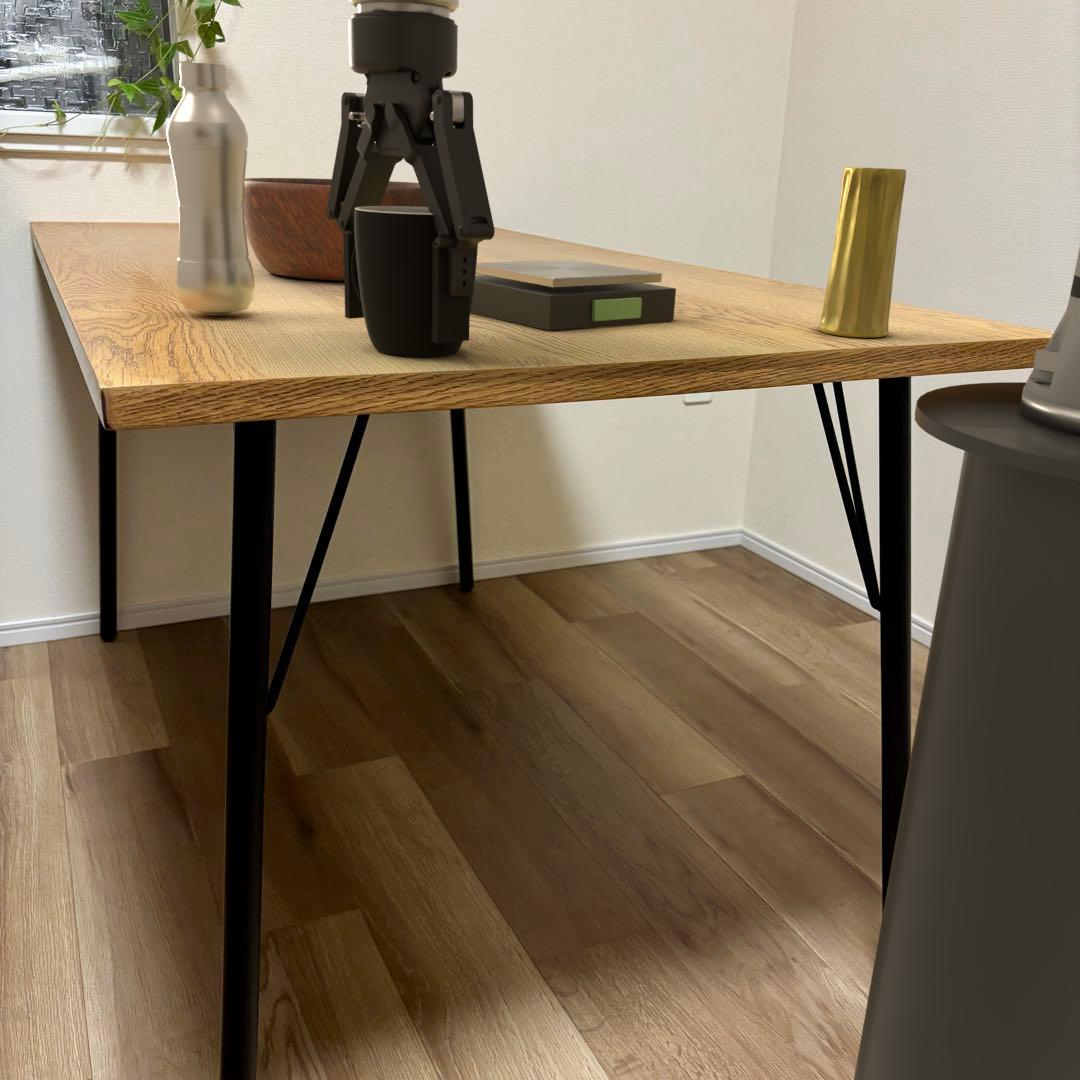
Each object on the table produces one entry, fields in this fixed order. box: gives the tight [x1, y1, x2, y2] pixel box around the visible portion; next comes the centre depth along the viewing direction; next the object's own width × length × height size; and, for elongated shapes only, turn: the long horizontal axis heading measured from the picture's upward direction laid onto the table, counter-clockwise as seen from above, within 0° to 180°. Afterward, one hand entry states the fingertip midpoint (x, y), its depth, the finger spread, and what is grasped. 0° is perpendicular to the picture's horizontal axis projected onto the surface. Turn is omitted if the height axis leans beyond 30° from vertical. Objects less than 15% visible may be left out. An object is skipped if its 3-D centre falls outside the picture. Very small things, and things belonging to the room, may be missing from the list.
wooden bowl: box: [243, 177, 427, 281], centre depth 127 cm, size 25×25×10 cm
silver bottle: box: [166, 62, 256, 317], centre depth 91 cm, size 6×7×20 cm
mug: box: [351, 206, 479, 358], centre depth 81 cm, size 12×9×10 cm
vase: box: [818, 166, 907, 339], centre depth 97 cm, size 6×6×14 cm
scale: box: [470, 274, 677, 332], centre depth 102 cm, size 15×15×3 cm
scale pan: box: [476, 259, 663, 288], centre depth 102 cm, size 13×13×1 cm
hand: (404, 328), depth 82 cm, fingers closed on mug, 12 cm apart
